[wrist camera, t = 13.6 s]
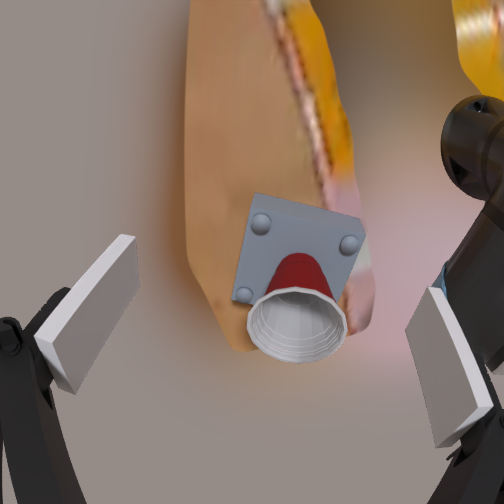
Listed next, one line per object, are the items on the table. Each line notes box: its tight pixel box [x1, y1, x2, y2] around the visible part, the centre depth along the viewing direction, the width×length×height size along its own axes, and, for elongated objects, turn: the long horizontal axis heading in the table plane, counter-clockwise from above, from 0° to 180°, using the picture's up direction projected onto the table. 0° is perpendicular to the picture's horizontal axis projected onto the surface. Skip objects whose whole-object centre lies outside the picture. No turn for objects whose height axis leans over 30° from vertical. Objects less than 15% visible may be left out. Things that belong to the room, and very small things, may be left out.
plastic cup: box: [247, 253, 348, 364], centre depth 39 cm, size 11×11×12 cm
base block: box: [231, 193, 366, 305], centre depth 45 cm, size 15×15×6 cm
